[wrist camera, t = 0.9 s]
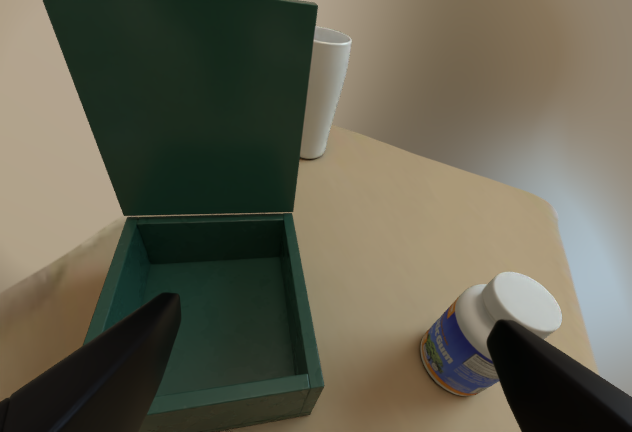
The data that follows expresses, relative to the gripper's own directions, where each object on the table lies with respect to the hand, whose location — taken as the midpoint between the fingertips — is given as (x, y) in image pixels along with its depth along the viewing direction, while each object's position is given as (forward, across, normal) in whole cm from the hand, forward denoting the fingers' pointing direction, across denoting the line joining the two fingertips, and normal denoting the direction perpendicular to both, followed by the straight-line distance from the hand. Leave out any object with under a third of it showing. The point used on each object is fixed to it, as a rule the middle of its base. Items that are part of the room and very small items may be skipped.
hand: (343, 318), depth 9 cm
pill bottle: (+10, -13, +14) cm, 21 cm away
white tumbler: (+38, 0, +5) cm, 38 cm away
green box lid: (+13, +8, -2) cm, 16 cm away
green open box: (+11, +6, +13) cm, 18 cm away
